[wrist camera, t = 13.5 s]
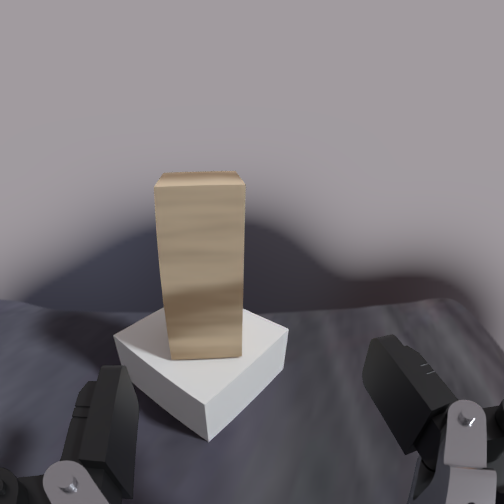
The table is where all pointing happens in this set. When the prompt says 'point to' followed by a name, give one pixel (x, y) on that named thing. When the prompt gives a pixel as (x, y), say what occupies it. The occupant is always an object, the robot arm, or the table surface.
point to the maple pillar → (201, 261)
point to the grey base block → (202, 371)
